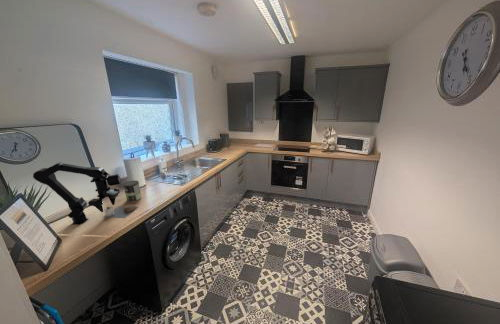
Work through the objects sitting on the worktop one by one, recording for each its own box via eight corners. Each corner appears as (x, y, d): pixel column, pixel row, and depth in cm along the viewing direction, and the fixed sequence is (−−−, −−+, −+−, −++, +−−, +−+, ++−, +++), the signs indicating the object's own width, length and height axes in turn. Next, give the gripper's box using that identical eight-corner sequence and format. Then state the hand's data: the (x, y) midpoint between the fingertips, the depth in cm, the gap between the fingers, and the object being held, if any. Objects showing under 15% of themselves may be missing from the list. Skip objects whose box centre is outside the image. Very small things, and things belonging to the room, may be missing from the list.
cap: (104, 216, 125) (102, 208, 123) (109, 213, 129) (107, 205, 128) (110, 216, 125) (108, 208, 123) (115, 213, 129) (113, 205, 127)
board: (102, 218, 125) (102, 217, 125) (118, 207, 138) (118, 206, 138) (125, 218, 123) (125, 217, 123) (139, 207, 137) (138, 206, 136)
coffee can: (129, 204, 142) (125, 186, 138) (125, 199, 149) (121, 183, 145) (144, 199, 149) (140, 182, 145) (139, 195, 156) (136, 179, 152)
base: (121, 212, 130) (120, 209, 129) (128, 207, 137) (128, 203, 136) (131, 212, 129) (130, 209, 129) (137, 207, 136) (137, 204, 135)
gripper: (101, 193, 111) (108, 216, 116) (124, 181, 129) (129, 201, 134) (84, 193, 112) (91, 216, 117) (109, 181, 130) (114, 201, 135)
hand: (108, 208), depth 126 cm, fingers open, 9 cm apart
